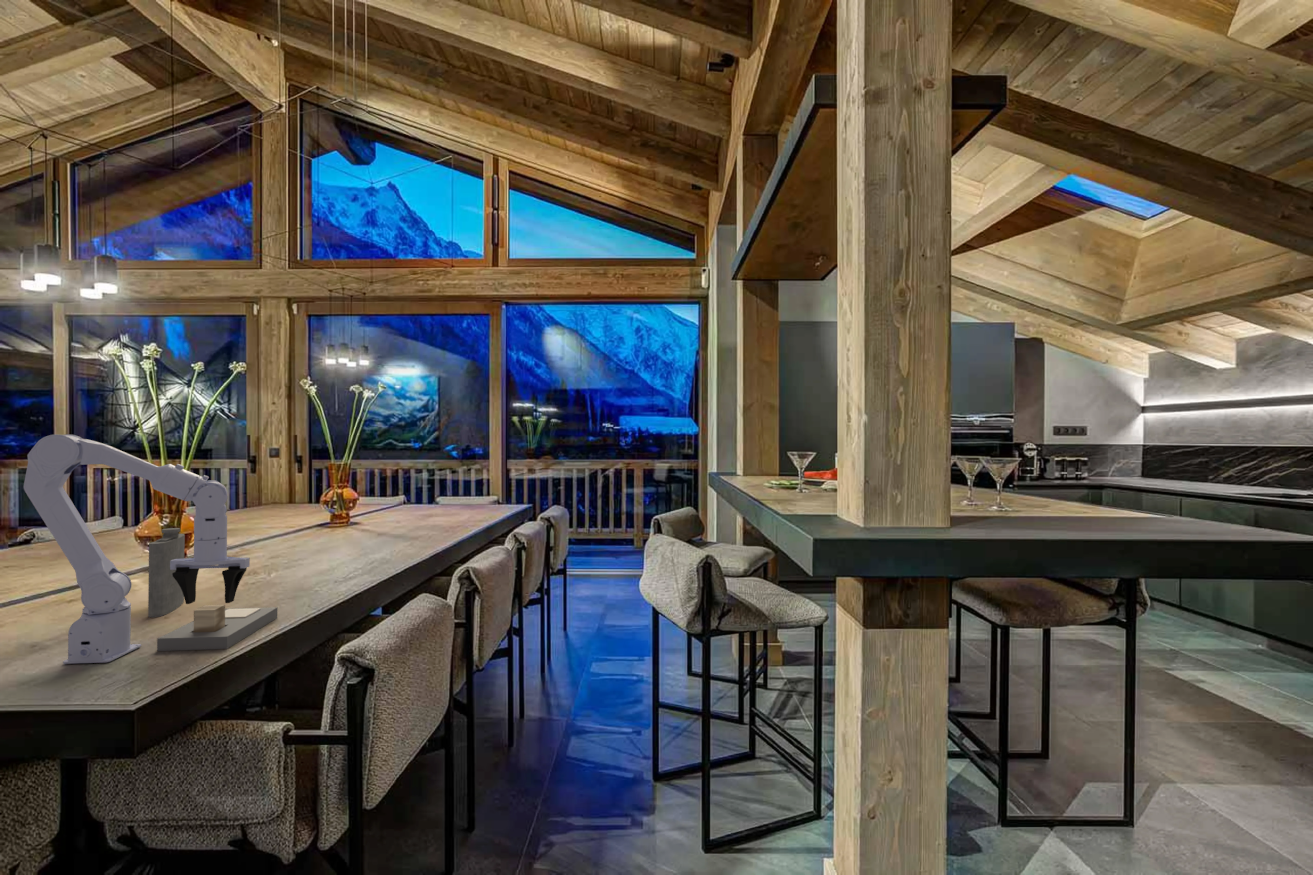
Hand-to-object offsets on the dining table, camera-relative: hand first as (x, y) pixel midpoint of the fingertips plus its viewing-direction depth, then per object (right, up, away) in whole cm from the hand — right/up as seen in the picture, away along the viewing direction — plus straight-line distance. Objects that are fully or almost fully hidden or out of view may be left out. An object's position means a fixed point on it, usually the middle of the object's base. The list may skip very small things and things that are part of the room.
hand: (210, 602), depth 133 cm
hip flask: (-27, -8, +24) cm, 37 cm away
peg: (0, -8, 0) cm, 8 cm away
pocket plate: (-1, -8, +5) cm, 9 cm away
